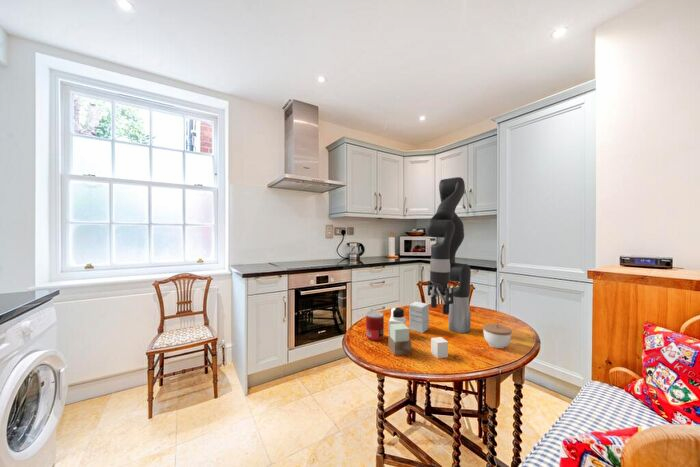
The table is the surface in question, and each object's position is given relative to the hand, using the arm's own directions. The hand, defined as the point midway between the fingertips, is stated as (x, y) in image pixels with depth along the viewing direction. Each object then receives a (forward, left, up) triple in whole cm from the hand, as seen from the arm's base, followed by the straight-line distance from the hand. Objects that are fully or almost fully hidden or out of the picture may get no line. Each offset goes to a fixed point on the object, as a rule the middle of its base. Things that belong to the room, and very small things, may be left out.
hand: (439, 310), depth 102 cm
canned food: (+20, -21, -18) cm, 34 cm away
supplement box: (-5, -26, -18) cm, 32 cm away
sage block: (+14, -7, -13) cm, 20 cm away
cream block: (0, 0, -18) cm, 18 cm away
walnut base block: (+14, -7, -18) cm, 24 cm away
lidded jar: (-29, -2, -18) cm, 34 cm away
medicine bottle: (+8, -23, -18) cm, 30 cm away
